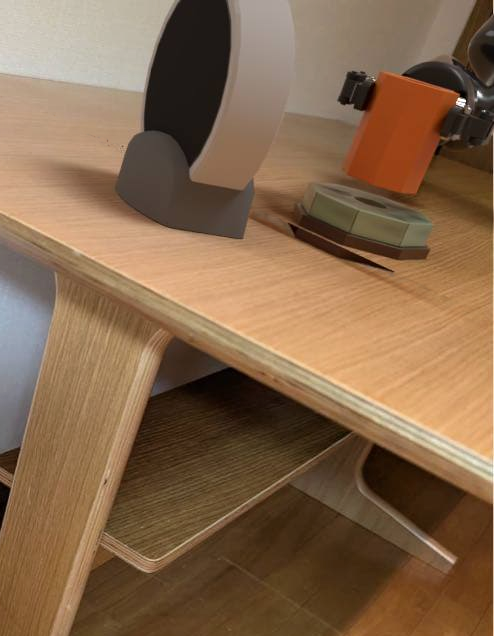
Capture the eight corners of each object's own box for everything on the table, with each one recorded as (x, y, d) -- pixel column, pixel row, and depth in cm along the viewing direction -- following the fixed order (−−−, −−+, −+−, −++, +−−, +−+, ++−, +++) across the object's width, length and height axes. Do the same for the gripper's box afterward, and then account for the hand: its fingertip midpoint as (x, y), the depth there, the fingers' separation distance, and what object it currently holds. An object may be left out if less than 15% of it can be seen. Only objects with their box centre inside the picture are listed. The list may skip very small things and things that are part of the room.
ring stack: (337, 224, 83) (353, 183, 81) (439, 269, 76) (459, 226, 74) (265, 223, 75) (281, 178, 73) (371, 273, 69) (391, 225, 67)
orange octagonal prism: (368, 171, 77) (407, 76, 72) (426, 195, 73) (470, 96, 69) (330, 168, 73) (368, 67, 68) (389, 192, 69) (433, 88, 65)
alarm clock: (95, 174, 76) (148, -65, 65) (192, 191, 79) (256, -32, 69) (158, 231, 64) (236, -50, 53) (269, 249, 67) (361, -11, 57)
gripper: (483, 169, 81) (467, 183, 68) (346, 125, 85) (306, 131, 72) (524, 85, 77) (514, 83, 64) (378, 43, 80) (341, 33, 68)
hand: (404, 108), depth 68 cm, fingers closed on orange octagonal prism, 7 cm apart
